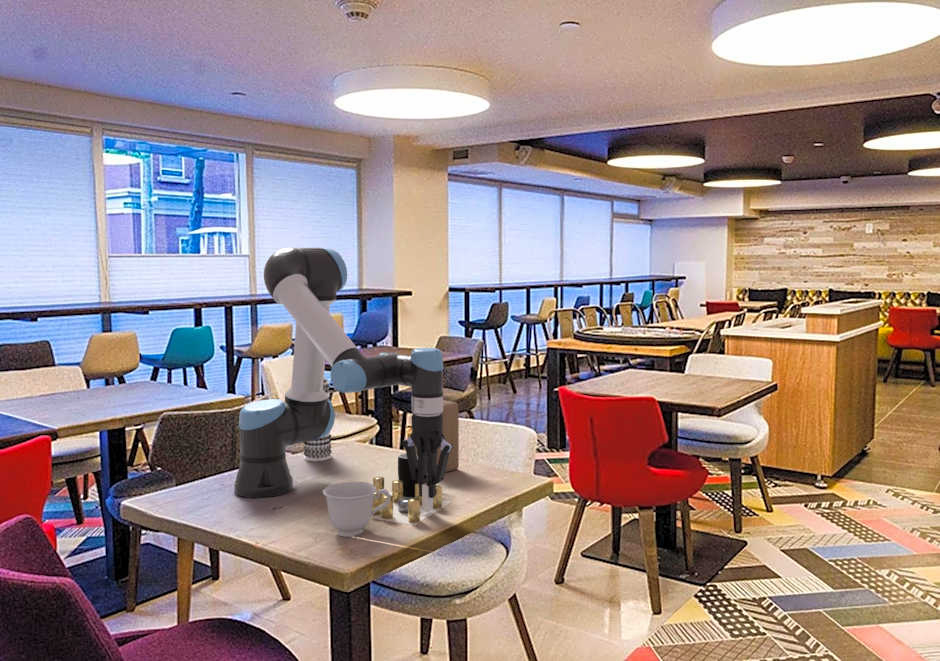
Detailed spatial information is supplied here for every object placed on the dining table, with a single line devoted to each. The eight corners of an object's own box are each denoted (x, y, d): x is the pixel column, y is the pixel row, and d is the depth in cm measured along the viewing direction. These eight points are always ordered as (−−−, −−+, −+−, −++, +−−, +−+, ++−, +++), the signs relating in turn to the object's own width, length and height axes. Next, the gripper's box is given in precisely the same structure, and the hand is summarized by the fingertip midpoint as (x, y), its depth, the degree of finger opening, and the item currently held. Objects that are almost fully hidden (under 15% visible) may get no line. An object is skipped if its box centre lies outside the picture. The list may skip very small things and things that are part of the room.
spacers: (343, 512, 184) (343, 491, 183) (378, 494, 197) (378, 475, 197) (415, 524, 175) (415, 503, 175) (445, 505, 189) (445, 485, 188)
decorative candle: (336, 454, 240) (334, 375, 238) (328, 461, 231) (326, 380, 228) (308, 453, 241) (306, 375, 238) (298, 461, 232) (296, 380, 229)
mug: (407, 500, 190) (409, 460, 190) (390, 493, 198) (391, 454, 198) (447, 496, 197) (449, 457, 197) (428, 489, 205) (430, 451, 205)
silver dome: (394, 511, 184) (394, 501, 183) (404, 505, 188) (404, 495, 188) (412, 514, 182) (412, 504, 181) (422, 508, 186) (422, 498, 186)
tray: (331, 512, 184) (331, 510, 184) (374, 491, 201) (374, 489, 201) (414, 526, 174) (414, 525, 174) (451, 503, 191) (451, 501, 191)
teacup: (389, 541, 166) (389, 496, 165) (320, 543, 164) (319, 498, 163) (391, 522, 178) (390, 480, 177) (326, 524, 176) (325, 482, 175)
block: (437, 463, 229) (437, 397, 227) (460, 469, 222) (459, 402, 220) (411, 469, 223) (411, 401, 221) (433, 476, 215) (433, 406, 213)
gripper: (395, 413, 180) (396, 510, 182) (444, 418, 174) (444, 518, 176) (411, 408, 186) (411, 501, 189) (458, 412, 181) (458, 509, 183)
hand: (427, 509), depth 183 cm, fingers closed
